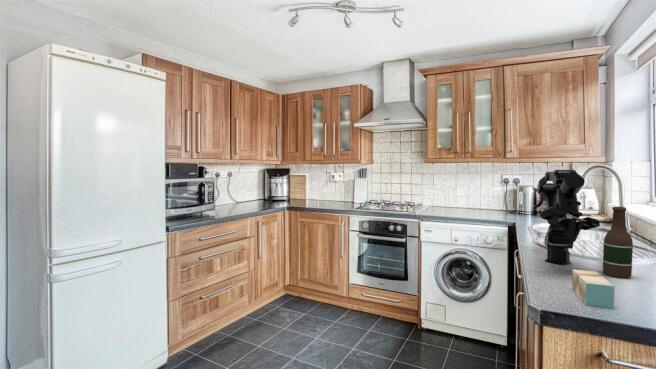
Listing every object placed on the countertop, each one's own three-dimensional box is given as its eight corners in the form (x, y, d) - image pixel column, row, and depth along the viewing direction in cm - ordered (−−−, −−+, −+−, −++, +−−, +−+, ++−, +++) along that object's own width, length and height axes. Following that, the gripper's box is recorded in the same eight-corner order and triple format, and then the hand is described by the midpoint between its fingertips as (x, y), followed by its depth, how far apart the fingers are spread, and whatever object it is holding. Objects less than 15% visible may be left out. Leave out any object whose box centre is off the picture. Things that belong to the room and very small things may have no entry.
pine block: (572, 269, 104) (586, 283, 91) (596, 271, 101) (614, 286, 88) (571, 288, 104) (586, 305, 91) (595, 290, 102) (613, 308, 89)
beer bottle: (621, 280, 111) (623, 208, 110) (596, 273, 119) (599, 206, 117) (637, 277, 113) (640, 207, 112) (612, 271, 121) (615, 205, 119)
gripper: (570, 213, 129) (575, 252, 123) (528, 201, 127) (530, 240, 120) (597, 204, 119) (604, 246, 112) (552, 191, 117) (556, 233, 110)
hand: (572, 241), depth 114 cm, fingers closed
